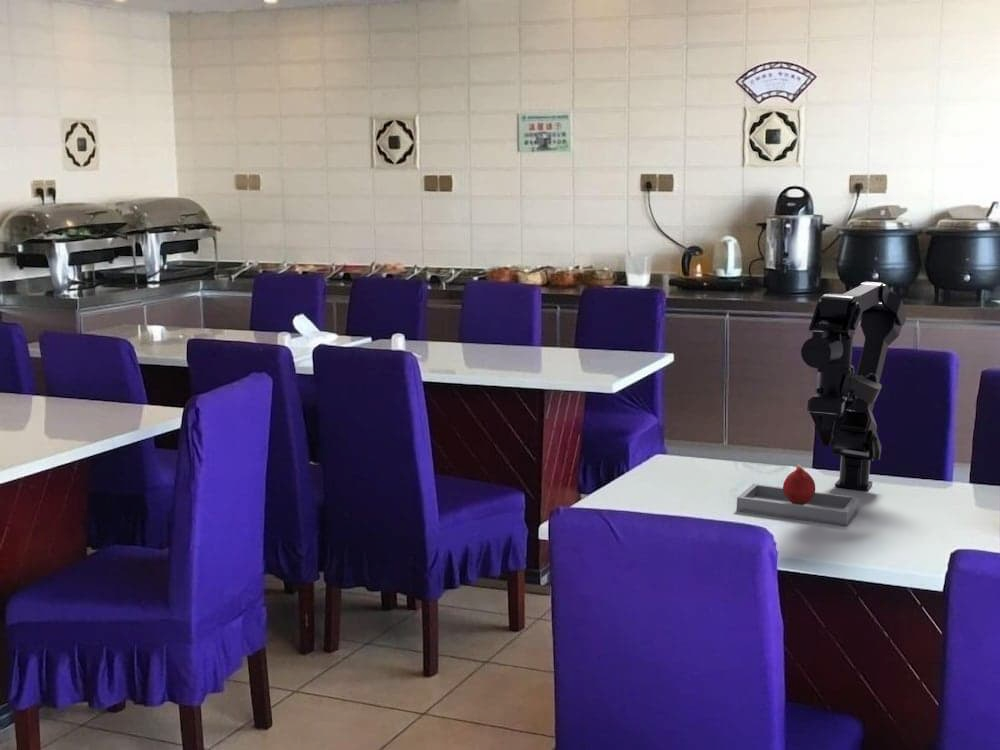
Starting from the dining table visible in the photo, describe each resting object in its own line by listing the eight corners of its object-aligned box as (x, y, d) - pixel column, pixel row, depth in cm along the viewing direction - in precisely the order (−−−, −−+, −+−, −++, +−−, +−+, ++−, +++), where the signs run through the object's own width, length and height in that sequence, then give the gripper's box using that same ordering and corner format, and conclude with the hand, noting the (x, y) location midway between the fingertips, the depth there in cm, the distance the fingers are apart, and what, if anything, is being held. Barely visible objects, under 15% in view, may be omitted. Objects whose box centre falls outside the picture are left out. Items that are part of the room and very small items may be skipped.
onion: (815, 505, 227) (817, 463, 226) (812, 512, 222) (815, 470, 221) (783, 501, 229) (786, 460, 228) (780, 509, 224) (782, 467, 222)
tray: (752, 496, 235) (753, 483, 235) (857, 510, 227) (858, 497, 226) (736, 510, 224) (737, 497, 224) (846, 526, 216) (847, 512, 215)
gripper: (871, 372, 217) (866, 456, 220) (887, 356, 234) (882, 435, 237) (808, 367, 222) (804, 449, 225) (829, 352, 239) (824, 429, 242)
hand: (831, 440), depth 232 cm, fingers open, 9 cm apart
